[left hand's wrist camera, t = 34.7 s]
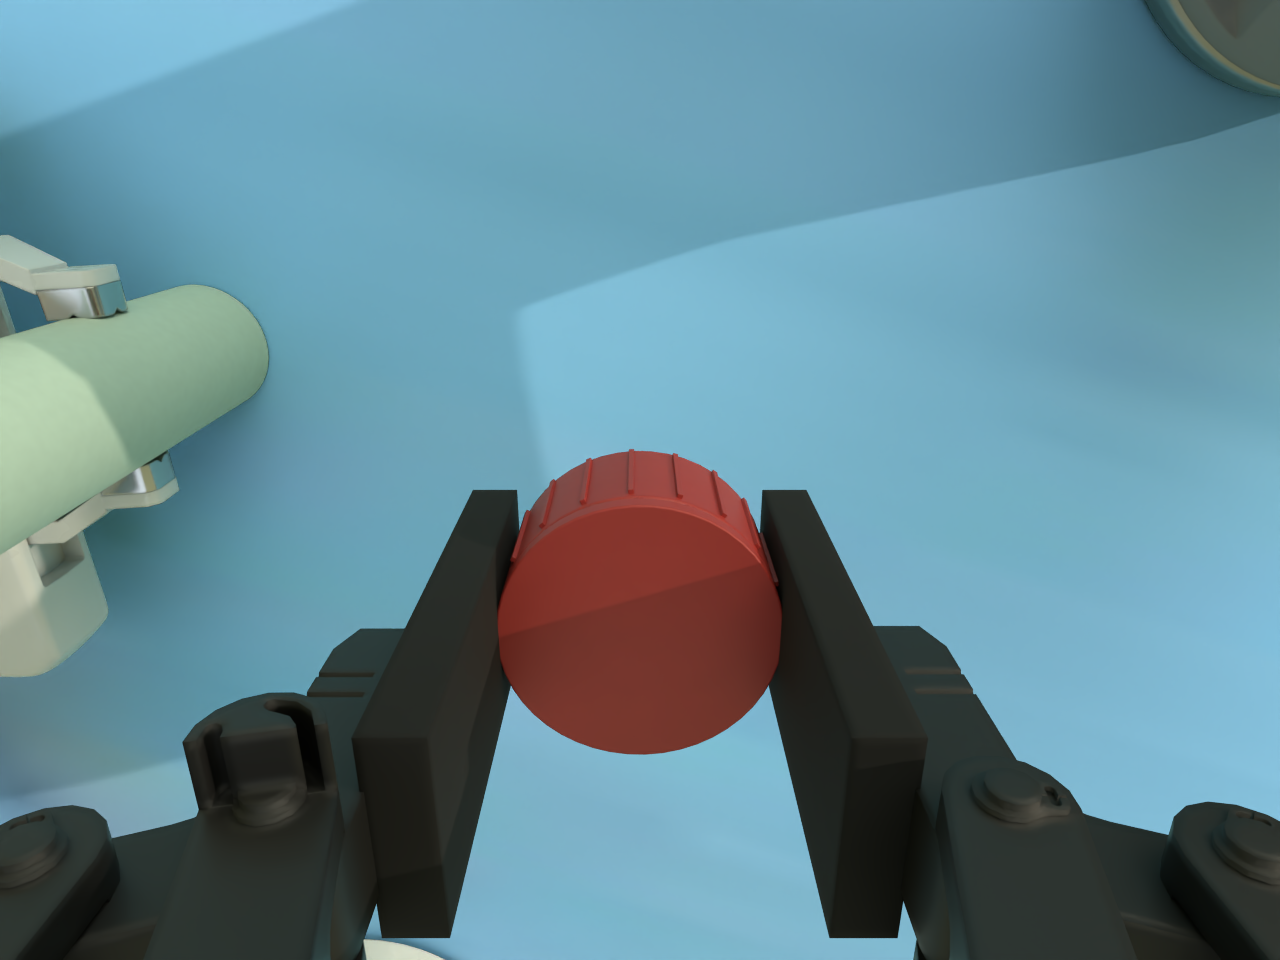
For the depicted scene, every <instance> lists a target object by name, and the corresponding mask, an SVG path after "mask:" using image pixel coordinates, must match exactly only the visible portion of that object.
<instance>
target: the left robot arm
mask: <svg viewBox="0 0 1280 960" xmlns="http://www.w3.org/2000/svg"><path fill="white" fill-rule="evenodd" d="M1145 1H1146V3H1147V5H1148V7H1149V9H1150V11H1151V12H1152V14H1153V16H1154V18H1155V20H1156V21H1157V23H1158V24H1159V26H1160V27H1161V28H1162V30H1163V31H1164V33H1165V34H1166V36H1167V37H1168V38H1169V39H1170V40H1171V41H1172V43H1173V44H1174V45H1175V46H1176V47H1177V48H1178V49H1179V50H1180V52H1182V53H1183V54H1184V55H1185V56H1186V57H1187V58H1188V59H1190V60H1191V61H1192V62H1193V63H1194V64H1195V65H1197V66H1198V67H1200V68H1201V69H1203V70H1204V71H1206V72H1207V73H1209V74H1210V75H1212V76H1213V77H1215V78H1217V79H1219V80H1221V81H1223V82H1225V83H1227V84H1229V85H1232V86H1235V87H1238V88H1240V89H1243V90H1246V91H1249V92H1254V93H1258V94H1263V95H1267V96H1275V97H1280V0H1145ZM761 532H762V533H763V536H764V539H765V542H766V545H767V548H768V551H769V554H770V557H771V560H772V563H773V566H774V569H775V572H776V575H777V578H778V581H779V583H778V586H777V587H776V589H777V591H778V595H779V598H780V602H781V607H782V624H781V638H780V652H779V663H778V666H777V669H776V671H775V673H774V676H773V678H772V680H771V682H770V683H769V689H770V693H771V697H772V701H773V705H774V709H775V714H776V718H777V722H778V726H779V730H780V734H781V739H782V743H783V747H784V751H785V755H786V759H787V763H788V768H789V772H790V776H791V780H792V784H793V788H794V792H795V797H796V801H797V805H798V809H799V813H800V817H801V822H802V826H803V830H804V834H805V838H806V842H807V846H808V851H809V855H810V859H811V863H812V867H813V871H814V875H815V880H816V884H817V888H818V892H819V896H820V900H821V905H822V909H823V913H824V917H825V921H826V925H827V929H828V934H829V938H898V931H899V925H900V918H901V912H902V905H903V901H904V904H905V907H906V910H907V912H908V915H909V918H910V921H911V924H912V927H913V930H914V932H915V935H916V938H917V940H916V947H915V953H914V959H913V960H1280V821H1278V820H1276V819H1274V818H1272V817H1270V816H1268V815H1266V814H1263V813H1260V812H1257V811H1254V810H1250V809H1247V808H1244V807H1241V806H1238V805H1233V804H1224V803H1215V802H1204V803H1198V804H1193V805H1188V806H1186V807H1184V808H1183V809H1182V810H1181V811H1180V812H1179V813H1178V814H1177V815H1176V816H1174V819H1173V822H1172V825H1171V829H1170V832H1169V835H1166V834H1161V833H1157V832H1153V831H1148V830H1144V829H1140V828H1135V827H1131V826H1126V825H1122V824H1118V823H1113V822H1109V821H1106V820H1102V819H1099V818H1096V817H1092V816H1089V815H1086V814H1084V813H1083V812H1082V810H1081V808H1080V806H1079V805H1078V803H1077V802H1076V800H1075V799H1074V797H1073V796H1072V794H1071V792H1070V791H1069V790H1068V789H1067V788H1065V787H1064V786H1063V785H1062V784H1061V783H1059V782H1058V781H1057V780H1056V779H1054V778H1053V777H1052V776H1051V775H1050V774H1048V773H1046V772H1043V771H1041V770H1039V769H1037V768H1035V767H1033V766H1031V765H1029V764H1027V763H1025V762H1021V761H1017V760H1016V758H1015V756H1014V755H1013V753H1012V752H1011V750H1010V748H1009V747H1008V745H1007V744H1006V742H1005V740H1004V739H1003V737H1002V736H1001V734H1000V732H999V731H998V729H997V727H996V726H995V724H994V723H993V721H992V719H991V718H990V716H989V715H988V713H987V711H986V710H985V708H984V706H983V705H982V703H981V702H980V700H979V698H978V697H977V695H976V694H973V689H972V687H971V685H970V684H969V682H968V681H967V679H966V677H965V676H964V674H961V669H960V668H959V666H958V664H957V663H956V661H955V660H954V658H953V656H952V655H951V653H950V652H949V650H948V648H947V647H946V646H945V645H944V644H942V643H941V642H940V641H938V640H937V639H936V638H934V637H933V636H932V635H930V634H929V633H928V632H926V631H925V630H924V629H922V628H921V627H920V626H873V625H872V623H871V621H870V618H869V616H868V614H867V612H866V610H865V608H864V606H863V604H862V602H861V600H860V598H859V596H858V594H857V592H856V590H855V588H854V586H853V584H852V582H851V580H850V578H849V576H848V574H847V572H846V570H845V568H844V566H843V564H842V562H841V560H840V557H839V555H838V553H837V551H836V549H835V547H834V545H833V543H832V541H831V539H830V537H829V535H828V533H827V531H826V529H825V527H824V525H823V523H822V521H821V519H820V517H819V515H818V513H817V511H816V509H815V507H814V505H813V503H812V501H811V498H810V496H809V494H808V492H807V490H762V507H761V525H760V533H761ZM518 534H519V517H518V500H517V490H473V491H472V493H471V495H470V497H469V499H468V501H467V503H466V505H465V508H464V510H463V512H462V514H461V516H460V518H459V520H458V522H457V524H456V526H455V528H454V530H453V532H452V534H451V536H450V538H449V540H448V542H447V544H446V546H445V548H444V550H443V552H442V554H441V556H440V558H439V560H438V562H437V564H436V566H435V569H434V571H433V573H432V575H431V577H430V579H429V581H428V583H427V585H426V587H425V589H424V591H423V593H422V595H421V597H420V599H419V601H418V603H417V605H416V607H415V609H414V611H413V613H412V615H411V617H410V619H409V621H408V623H407V625H406V627H405V629H360V630H358V631H357V632H356V633H354V634H353V635H352V636H350V637H349V638H348V639H346V640H345V641H344V642H342V643H341V644H340V645H338V646H337V647H336V648H334V649H333V651H332V652H331V654H330V656H329V657H328V659H327V660H326V662H325V664H324V665H323V667H322V669H321V670H320V672H319V677H316V678H315V680H314V682H313V683H312V685H311V686H310V688H309V690H308V691H307V696H304V695H301V694H297V693H266V694H261V695H257V696H252V697H248V698H243V699H240V700H238V701H236V702H233V703H231V704H229V705H227V706H224V707H222V708H220V709H217V710H215V711H214V712H213V713H211V714H210V715H209V716H207V717H206V718H204V719H203V720H202V721H200V722H199V723H197V724H196V725H195V726H194V727H193V729H192V730H191V731H190V733H189V734H188V735H187V737H186V738H185V739H184V741H183V742H182V743H183V747H184V751H185V755H186V759H187V763H188V767H189V771H190V775H191V780H192V784H193V788H194V792H195V796H196V800H197V804H198V808H199V811H198V814H197V817H195V818H192V819H189V820H185V821H182V822H179V823H176V824H172V825H168V826H164V827H160V828H155V829H151V830H147V831H142V832H138V833H133V834H129V835H125V836H120V837H116V838H111V834H110V831H109V828H108V824H107V821H106V820H105V819H104V818H103V817H102V816H101V815H100V814H99V813H98V812H96V811H95V810H94V809H90V808H84V807H79V806H74V805H70V806H61V807H53V808H44V809H41V810H38V811H35V812H32V813H29V814H25V815H23V816H20V817H16V818H13V819H11V820H9V821H8V822H6V823H4V824H2V825H0V960H367V959H366V953H365V947H364V938H365V935H366V932H367V929H368V926H369V924H370V921H371V918H372V915H373V912H374V909H375V906H376V904H377V909H378V915H379V922H380V928H381V935H382V938H450V936H451V931H452V927H453V923H454V919H455V915H456V911H457V906H458V902H459V898H460V894H461V890H462V886H463V882H464V877H465V873H466V869H467V865H468V861H469V857H470V853H471V848H472V844H473V840H474V836H475V832H476V828H477V823H478V819H479V815H480V811H481V807H482V803H483V799H484V794H485V790H486V786H487V782H488V778H489V774H490V770H491V765H492V761H493V757H494V753H495V749H496V745H497V740H498V736H499V732H500V728H501V724H502V720H503V716H504V711H505V707H506V703H507V699H508V695H509V691H510V687H511V684H510V682H509V681H508V679H507V677H506V675H505V673H504V670H503V667H502V664H501V660H500V648H499V634H498V618H497V609H498V605H499V601H500V598H501V594H502V591H503V587H504V585H505V581H506V578H507V574H508V571H509V568H510V565H511V562H512V561H510V559H511V556H512V553H513V550H514V546H515V543H516V540H517V537H518Z"/></svg>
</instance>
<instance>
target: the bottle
mask: <svg viewBox="0 0 1280 960" xmlns="http://www.w3.org/2000/svg"><path fill="white" fill-rule="evenodd" d="M126 303H127V306H128V310H126V311H123V312H115V314H113V315H109V316H104V317H99V318H90V319H86V318H78V317H74V318H70V319H66V320H61V321H57V322H54V323H51V324H47V325H44V326H40V327H37V328H33V329H30V330H26V331H23V332H20V333H16V334H13V335H9V336H6V337H2V338H0V555H1V554H3V553H4V552H6V551H7V550H9V549H10V548H12V547H14V546H15V545H17V544H18V543H20V542H22V541H23V540H25V539H26V538H28V537H30V536H31V535H33V534H34V533H36V532H38V531H39V530H41V529H42V528H44V527H46V526H47V525H49V524H50V523H52V522H53V521H55V520H57V519H58V518H60V517H61V516H63V515H65V514H66V513H68V512H69V511H71V510H73V509H74V508H76V507H77V506H79V505H81V504H82V503H84V502H85V501H87V500H89V499H90V498H92V497H93V496H95V495H96V494H98V493H100V492H101V491H103V490H104V489H106V488H108V487H109V486H111V485H112V484H114V483H116V482H117V481H119V480H120V479H122V478H124V477H125V476H127V475H128V474H130V473H132V472H133V471H135V470H136V469H138V468H139V467H141V466H143V465H144V464H146V463H147V462H149V461H151V460H152V459H154V458H155V457H157V456H159V455H160V454H162V453H163V452H165V451H167V450H168V449H170V448H171V447H173V446H175V445H176V444H178V443H179V442H181V441H182V440H184V439H186V438H187V437H189V436H190V435H192V434H194V433H195V432H197V431H198V430H200V429H202V428H203V427H205V426H206V425H208V424H210V423H211V422H213V421H214V420H216V419H218V418H219V417H221V416H222V415H224V414H225V413H227V412H229V411H230V410H232V409H233V408H235V407H237V406H238V405H240V404H241V403H243V402H245V401H246V400H248V399H249V398H250V397H252V396H253V395H254V394H255V393H256V392H257V390H258V389H259V388H260V386H261V385H262V383H263V381H264V379H265V376H266V373H267V369H268V361H269V356H268V347H267V342H266V339H265V336H264V333H263V331H262V329H261V327H260V325H259V324H258V322H257V320H256V319H255V317H254V316H253V315H252V314H251V312H250V311H249V310H248V309H247V308H246V307H245V306H244V305H243V304H241V303H240V302H239V301H238V300H236V299H235V298H233V297H232V296H230V295H229V294H227V293H225V292H223V291H221V290H218V289H215V288H212V287H208V286H204V285H183V286H178V287H175V288H171V289H168V290H164V291H161V292H157V293H154V294H150V295H147V296H144V297H140V298H137V299H133V300H130V301H126Z"/></svg>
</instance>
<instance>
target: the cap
mask: <svg viewBox="0 0 1280 960" xmlns="http://www.w3.org/2000/svg"><path fill="white" fill-rule="evenodd" d="M510 561H512V562H511V565H510V568H509V571H508V574H507V578H506V581H505V585H504V587H503V591H502V594H501V598H500V601H499V605H498V609H497V618H498V634H499V648H500V660H501V664H502V667H503V670H504V673H505V675H506V677H507V679H508V681H509V682H510V684H511V686H512V688H513V690H514V691H515V693H516V694H517V695H518V697H519V698H520V700H521V701H522V702H523V703H524V704H525V705H526V707H527V708H528V709H529V710H530V711H531V712H532V713H533V714H534V715H535V716H536V717H538V718H539V719H540V720H541V721H542V722H544V723H545V724H546V725H547V726H549V727H550V728H552V729H554V730H555V731H557V732H558V733H560V734H561V735H563V736H565V737H567V738H570V739H572V740H574V741H576V742H578V743H581V744H584V745H586V746H589V747H592V748H596V749H600V750H604V751H608V752H615V753H623V754H656V753H665V752H670V751H675V750H680V749H683V748H687V747H690V746H693V745H696V744H699V743H701V742H703V741H706V740H708V739H710V738H712V737H714V736H716V735H718V734H719V733H721V732H723V731H724V730H726V729H728V728H729V727H730V726H732V725H733V724H734V723H736V722H737V721H738V720H740V719H741V718H742V717H743V716H744V715H745V714H746V713H747V712H748V711H749V710H750V709H751V708H752V707H753V706H754V705H755V704H756V702H757V701H758V700H759V699H760V697H761V696H762V695H763V694H764V692H765V690H766V689H767V687H768V685H769V683H770V682H771V680H772V678H773V676H774V673H775V671H776V669H777V666H778V663H779V652H780V638H781V624H782V607H781V602H780V598H779V595H778V591H777V589H776V587H777V586H778V583H779V581H778V578H777V575H776V572H775V569H774V566H773V563H772V560H771V557H770V554H769V551H768V548H767V545H766V542H765V539H764V536H763V533H762V532H761V533H759V532H758V529H757V527H756V524H755V521H754V519H753V517H752V515H751V513H750V511H749V507H748V504H747V501H746V500H745V498H742V499H741V498H740V497H739V495H738V494H737V493H736V492H735V491H734V490H733V489H732V488H731V487H730V486H729V485H728V484H727V483H726V482H725V481H723V480H722V479H721V478H719V477H718V475H717V472H716V471H714V470H713V471H712V472H711V471H709V470H708V469H706V468H704V467H702V466H701V465H699V464H696V463H694V462H692V461H689V460H687V459H684V458H681V457H678V454H675V453H673V455H670V454H665V453H658V452H651V451H634V449H629V452H621V453H614V454H610V455H606V456H601V457H598V458H596V459H593V460H592V459H591V458H589V459H587V460H586V462H585V463H583V464H581V465H579V466H577V467H575V468H573V469H571V470H570V471H568V472H567V473H565V474H564V475H563V476H561V477H560V478H558V479H557V480H556V481H555V480H554V479H553V480H552V481H551V482H550V485H549V487H548V488H547V489H546V490H545V491H544V492H543V494H542V495H541V496H540V497H539V498H538V500H537V501H536V502H535V504H534V505H533V507H532V509H531V510H530V511H529V510H526V512H525V515H524V518H523V521H522V524H521V527H520V531H519V534H518V537H517V540H516V543H515V546H514V550H513V553H512V556H511V559H510Z"/></svg>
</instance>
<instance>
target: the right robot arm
mask: <svg viewBox="0 0 1280 960" xmlns="http://www.w3.org/2000/svg"><path fill="white" fill-rule="evenodd" d="M0 282H5V283H8V284H10V285H13V286H15V287H17V288H20V289H22V290H25V291H27V292H30V293H32V294H34V295H38V297H39V300H40V303H41V306H42V309H43V312H44V314H45V317H46V320H47V321H58V320H66V319H70V318H74V317H78V318H86V319H90V318H99V317H104V316H109V315H113V314H115V312H123V311H126V310H128V306H127V303H126V299H125V295H124V291H123V287H122V283H121V280H120V277H119V273H118V270H117V266H116V265H115V264H102V265H86V266H70V267H68V266H67V263H66V262H64V261H62V260H60V259H58V258H56V257H54V256H52V255H50V254H47V253H45V252H43V251H41V250H39V249H37V248H35V247H33V246H31V245H29V244H27V243H25V242H23V241H21V240H19V239H17V238H15V237H12V236H10V235H0ZM13 334H16V331H15V328H14V325H13V322H12V319H11V316H10V313H9V310H8V307H7V304H6V301H5V298H4V295H3V292H2V289H1V286H0V338H2V337H6V336H9V335H13ZM178 491H179V487H178V483H177V479H176V476H175V473H174V469H173V466H172V462H171V459H170V455H169V452H168V451H165V452H163V453H162V454H160V455H159V456H157V457H155V458H154V459H152V460H151V461H149V462H147V463H146V464H144V465H143V466H141V467H139V468H138V469H136V470H135V471H133V472H132V473H130V474H128V475H127V476H125V477H124V478H122V479H120V480H119V481H117V482H116V483H114V484H112V485H111V486H109V487H108V488H106V489H104V490H103V491H101V492H100V493H98V494H96V495H95V496H93V497H92V498H90V499H89V500H87V501H85V502H84V503H82V504H81V505H79V506H77V507H76V508H74V509H73V510H71V511H69V512H68V513H66V514H65V515H63V516H61V517H60V518H58V519H57V520H55V521H53V522H52V523H50V524H49V525H47V526H46V527H44V528H42V529H41V530H39V531H38V532H36V533H34V534H33V535H31V536H30V537H28V538H26V539H25V540H23V541H22V542H20V543H18V544H17V545H15V546H14V547H12V548H10V549H9V550H7V551H6V552H4V553H3V554H1V555H0V677H31V676H37V675H41V674H44V673H46V672H48V671H50V670H52V669H53V668H55V667H57V666H58V665H59V664H61V663H62V662H64V661H65V660H66V659H68V658H69V657H70V656H71V655H72V654H73V653H75V652H76V651H77V650H78V649H79V648H80V647H81V646H82V645H83V644H84V643H85V642H86V641H87V640H89V639H90V637H91V636H92V635H93V634H94V633H95V632H96V631H97V630H98V628H99V627H100V626H101V625H102V624H103V622H104V621H105V620H106V618H107V616H108V605H107V601H106V598H105V595H104V592H103V589H102V586H101V583H100V580H99V578H98V575H97V572H96V569H95V566H94V563H93V560H92V557H91V554H90V551H89V548H88V545H87V542H86V539H85V536H84V533H83V530H84V529H86V528H87V527H89V526H90V525H92V524H93V523H95V522H96V521H98V520H99V519H101V518H102V517H104V516H105V515H106V514H108V513H109V512H111V511H112V510H113V509H120V508H136V507H150V506H153V505H157V504H160V503H162V502H165V501H166V500H167V499H169V498H170V497H171V496H173V495H174V494H175V493H177V492H178ZM364 947H365V953H366V959H367V960H445V959H443V958H441V957H439V956H436V955H434V954H432V953H429V952H427V951H424V950H421V949H418V948H415V947H412V946H408V945H404V944H399V943H394V942H388V941H381V940H369V939H364Z"/></svg>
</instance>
